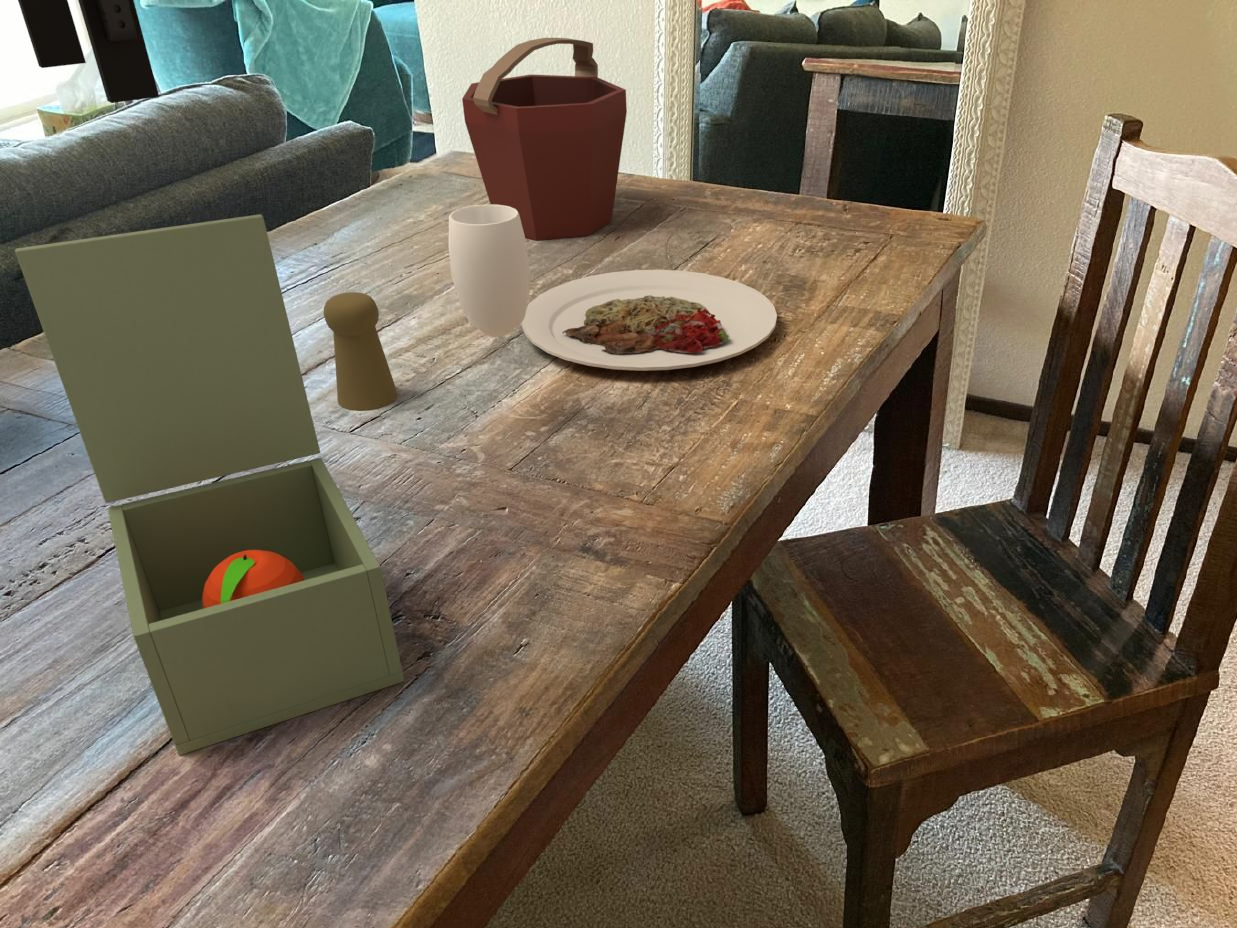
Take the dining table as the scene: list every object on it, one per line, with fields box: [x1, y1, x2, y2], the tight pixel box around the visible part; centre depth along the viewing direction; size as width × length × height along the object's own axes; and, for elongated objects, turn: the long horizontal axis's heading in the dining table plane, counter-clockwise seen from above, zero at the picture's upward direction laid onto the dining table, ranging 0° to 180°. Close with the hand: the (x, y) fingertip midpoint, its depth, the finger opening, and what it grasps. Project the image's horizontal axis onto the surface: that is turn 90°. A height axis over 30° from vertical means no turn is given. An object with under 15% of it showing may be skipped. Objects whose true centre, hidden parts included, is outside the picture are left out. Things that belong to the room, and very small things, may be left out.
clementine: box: [202, 550, 305, 608], centre depth 77 cm, size 8×7×7 cm
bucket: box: [461, 37, 628, 241], centre depth 156 cm, size 24×22×25 cm
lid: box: [14, 214, 321, 504], centre depth 76 cm, size 18×15×1 cm
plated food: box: [520, 269, 778, 372], centre depth 129 cm, size 30×30×3 cm
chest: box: [107, 457, 405, 756], centre depth 77 cm, size 17×15×10 cm
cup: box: [447, 203, 531, 338], centre depth 105 cm, size 7×7×21 cm
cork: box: [323, 291, 399, 411], centre depth 111 cm, size 6×6×11 cm
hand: (96, 81), depth 69 cm, fingers open, 13 cm apart
